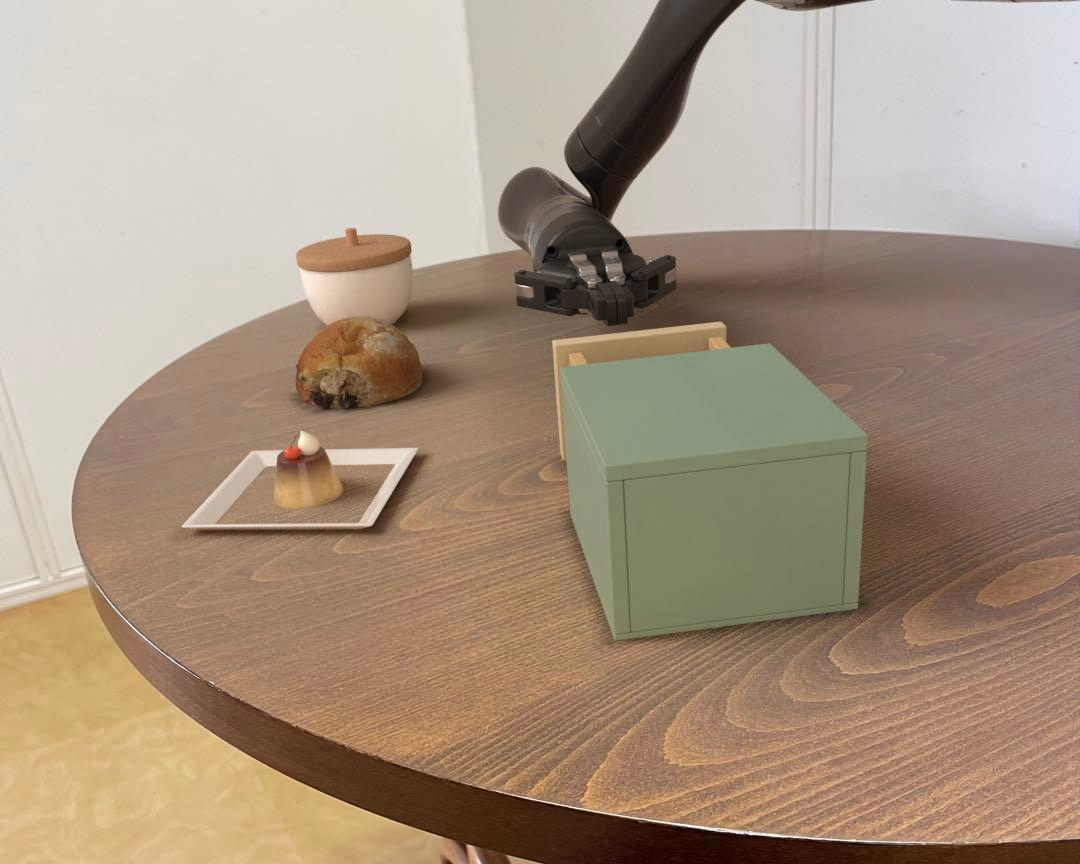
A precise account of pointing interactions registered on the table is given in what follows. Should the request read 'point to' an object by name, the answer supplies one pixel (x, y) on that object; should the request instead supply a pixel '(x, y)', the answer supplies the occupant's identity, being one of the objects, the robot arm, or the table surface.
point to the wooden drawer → (631, 351)
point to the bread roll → (357, 365)
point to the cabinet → (712, 490)
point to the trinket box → (357, 276)
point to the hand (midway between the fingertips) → (617, 311)
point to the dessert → (301, 483)
